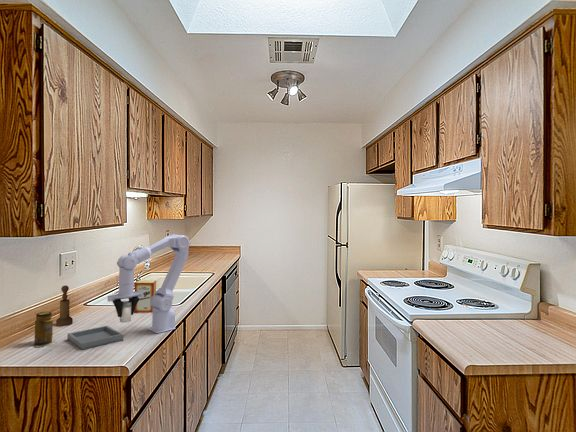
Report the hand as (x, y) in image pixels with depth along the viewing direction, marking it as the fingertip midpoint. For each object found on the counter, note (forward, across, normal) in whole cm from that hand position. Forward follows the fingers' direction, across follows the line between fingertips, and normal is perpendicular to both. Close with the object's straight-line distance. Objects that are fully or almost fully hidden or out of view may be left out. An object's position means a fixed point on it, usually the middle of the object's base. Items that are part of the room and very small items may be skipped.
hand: (125, 315), depth 161 cm
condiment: (+10, +26, -16) cm, 32 cm away
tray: (+10, +10, -6) cm, 15 cm away
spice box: (+10, -26, -34) cm, 44 cm away
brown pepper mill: (+10, +12, -37) cm, 40 cm away
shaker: (+2, 0, 0) cm, 2 cm away
